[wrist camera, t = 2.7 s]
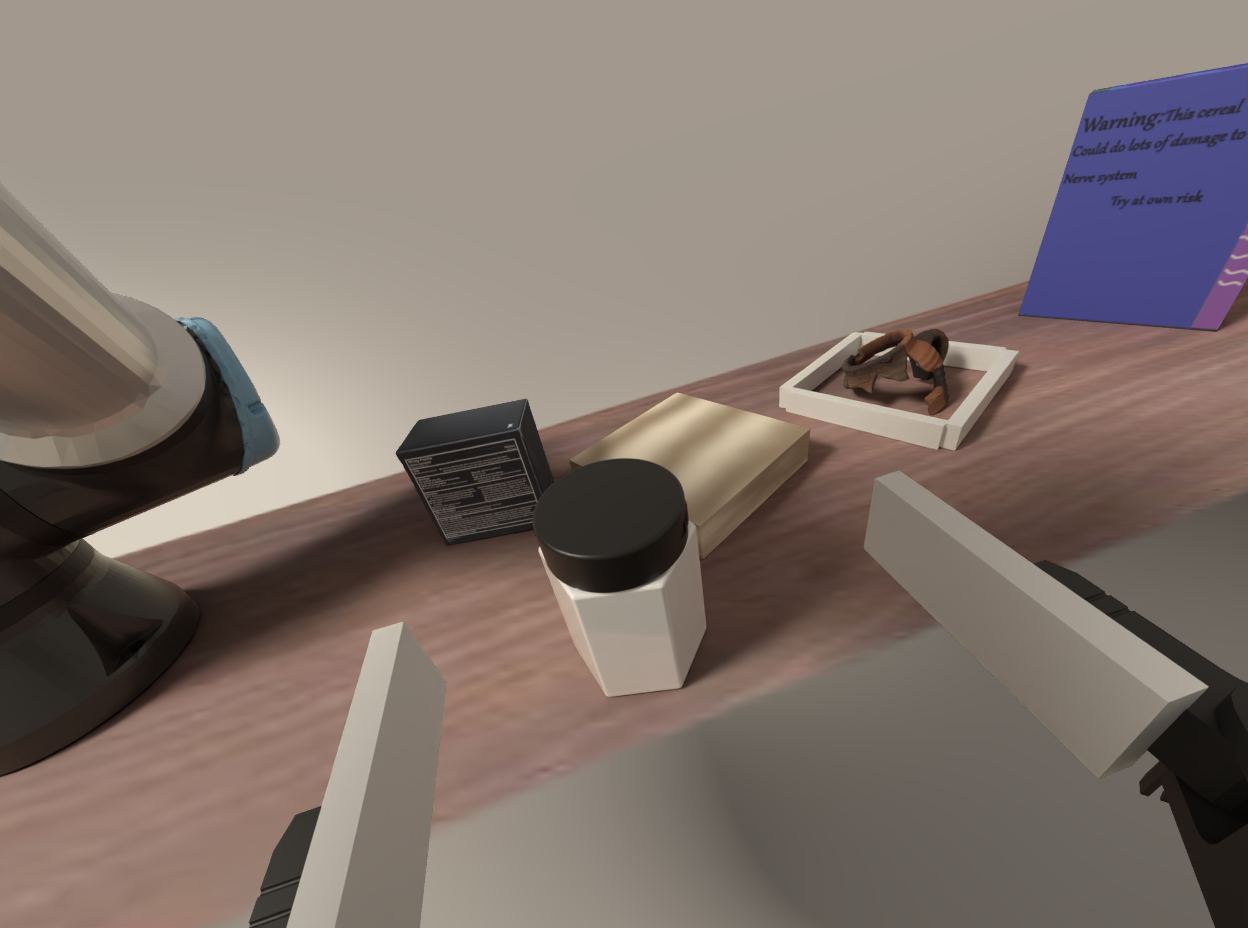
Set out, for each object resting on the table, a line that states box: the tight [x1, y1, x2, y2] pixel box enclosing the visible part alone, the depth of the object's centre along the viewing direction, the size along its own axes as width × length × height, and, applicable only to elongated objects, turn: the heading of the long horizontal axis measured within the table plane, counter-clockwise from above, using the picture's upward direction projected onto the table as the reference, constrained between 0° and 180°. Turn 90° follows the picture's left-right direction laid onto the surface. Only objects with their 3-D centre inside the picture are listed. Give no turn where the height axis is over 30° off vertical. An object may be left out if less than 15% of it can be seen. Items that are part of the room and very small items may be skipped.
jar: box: [533, 458, 707, 697], centre depth 27 cm, size 9×8×12 cm
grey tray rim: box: [779, 332, 1019, 451], centre depth 50 cm, size 17×19×2 cm
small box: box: [396, 399, 554, 545], centre depth 41 cm, size 11×6×10 cm, turn 95°
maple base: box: [569, 393, 810, 559], centre depth 43 cm, size 16×16×4 cm
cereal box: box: [1018, 63, 1248, 332], centre depth 50 cm, size 17×5×24 cm, turn 42°
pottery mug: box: [842, 329, 949, 415], centre depth 49 cm, size 12×10×8 cm
